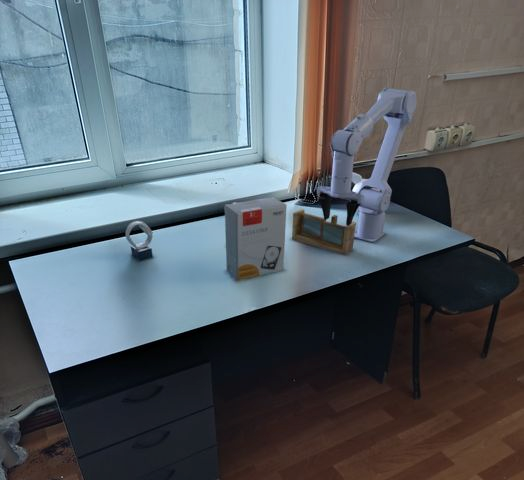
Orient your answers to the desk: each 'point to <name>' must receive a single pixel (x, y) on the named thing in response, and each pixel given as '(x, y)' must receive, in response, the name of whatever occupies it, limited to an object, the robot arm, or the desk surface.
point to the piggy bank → (358, 184)
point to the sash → (332, 232)
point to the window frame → (309, 232)
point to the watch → (141, 249)
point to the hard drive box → (255, 237)
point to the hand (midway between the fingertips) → (337, 221)
